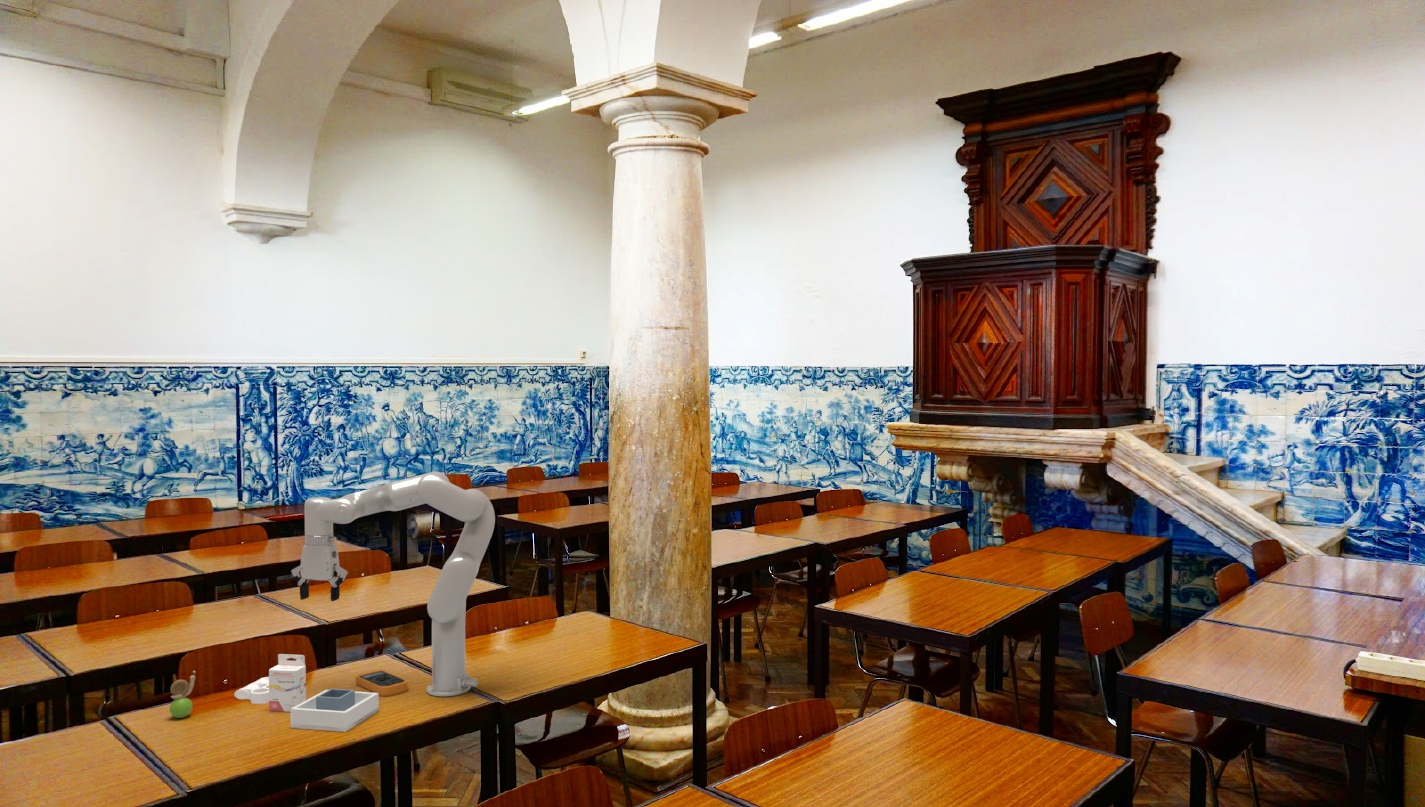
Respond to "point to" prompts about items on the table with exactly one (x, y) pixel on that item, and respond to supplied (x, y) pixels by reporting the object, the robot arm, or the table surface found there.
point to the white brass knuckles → (255, 691)
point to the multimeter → (381, 682)
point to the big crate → (334, 713)
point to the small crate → (336, 700)
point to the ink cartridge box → (287, 683)
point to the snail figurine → (181, 697)
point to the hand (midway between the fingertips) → (319, 599)
